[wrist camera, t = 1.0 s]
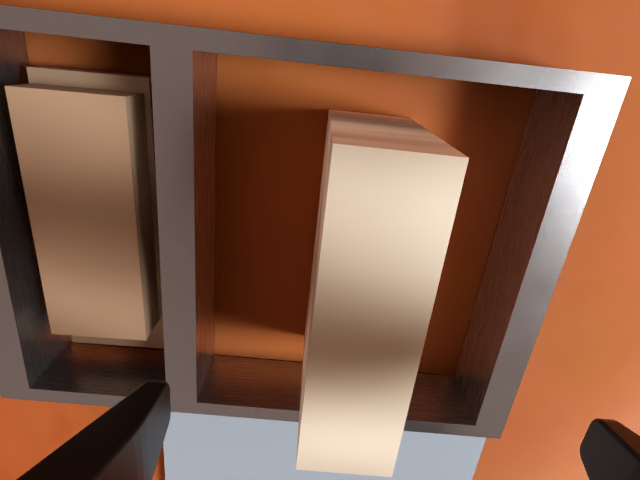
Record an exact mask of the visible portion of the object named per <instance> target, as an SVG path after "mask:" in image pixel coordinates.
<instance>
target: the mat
mask: <svg viewBox="0 0 640 480" xmlns="http://www.w3.org/2000/svg"><path fill="white" fill-rule="evenodd" d="M298 427H299V422H290V421H278V420H265V419H253V418H241V417H229V416H217V415H205V414H192V413H180V412H171V416H170V422H169V426H168V429H167V432H166V435H165V439H164V442H163V448H164V466H165V480H472V478H473V475H474V472H475V469H476V466H477V463H478V460H479V457H480V455H481V452H482V449H483V446H484V443H485V440H486V438H484V437H472V436H460V435H448V434H436V433H423V432H411V431H403V434H402V438H401V442H400V446H399V450H398V455H397V459H396V463H395V467H394V471H393V475H392V477H382V476H370V475H357V474H344V473H332V472H319V471H307V470H296V456H297V442H298Z"/></svg>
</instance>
